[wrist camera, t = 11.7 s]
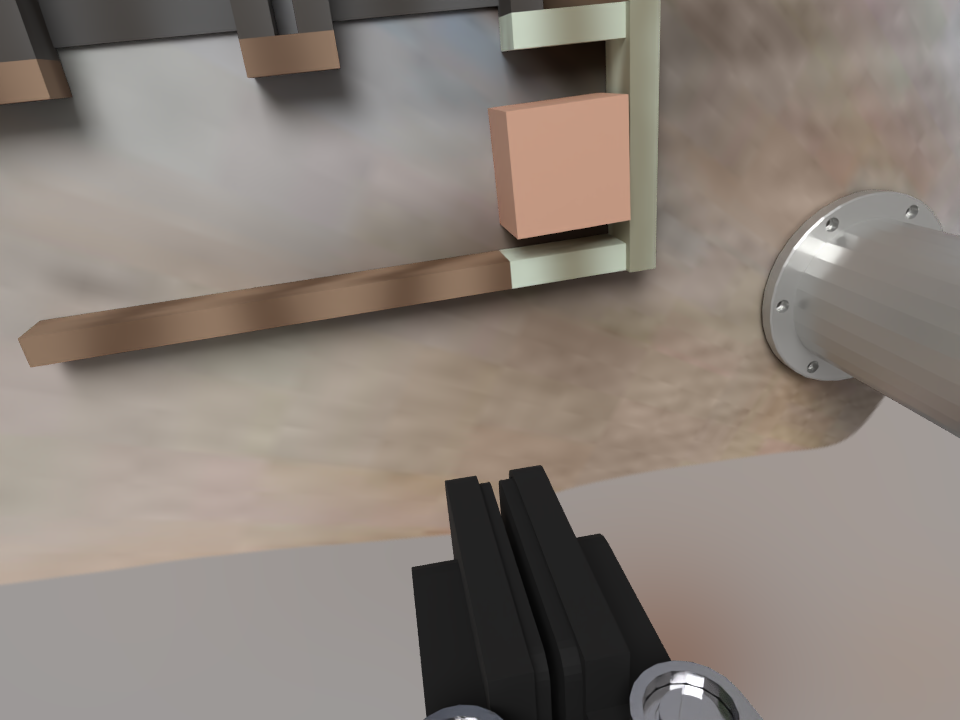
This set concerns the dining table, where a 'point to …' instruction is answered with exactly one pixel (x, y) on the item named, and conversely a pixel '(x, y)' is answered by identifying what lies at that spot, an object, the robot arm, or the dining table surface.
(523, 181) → the block
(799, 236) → the robot arm
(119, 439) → the dining table surface
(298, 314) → the trap lane
